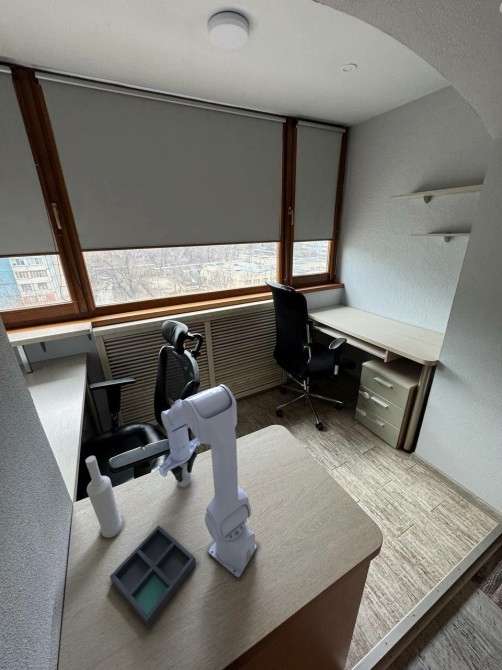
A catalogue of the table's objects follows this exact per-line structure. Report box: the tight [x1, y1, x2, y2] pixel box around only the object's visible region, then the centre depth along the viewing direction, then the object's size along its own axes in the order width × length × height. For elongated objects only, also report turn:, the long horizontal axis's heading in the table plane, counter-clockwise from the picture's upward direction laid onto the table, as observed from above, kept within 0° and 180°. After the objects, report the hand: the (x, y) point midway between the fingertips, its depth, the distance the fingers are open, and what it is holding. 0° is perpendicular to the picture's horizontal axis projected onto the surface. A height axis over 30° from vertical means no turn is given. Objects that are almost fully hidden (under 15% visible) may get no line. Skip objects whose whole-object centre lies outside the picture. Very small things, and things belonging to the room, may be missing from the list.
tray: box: [109, 525, 197, 629], centre depth 62 cm, size 13×13×3 cm
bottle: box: [85, 455, 123, 539], centre depth 67 cm, size 5×5×25 cm
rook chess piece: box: [176, 462, 192, 487], centre depth 84 cm, size 4×4×8 cm
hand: (183, 475), depth 85 cm, fingers closed on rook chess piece, 3 cm apart
